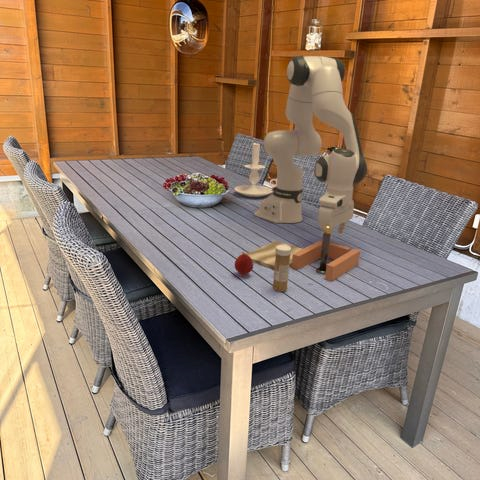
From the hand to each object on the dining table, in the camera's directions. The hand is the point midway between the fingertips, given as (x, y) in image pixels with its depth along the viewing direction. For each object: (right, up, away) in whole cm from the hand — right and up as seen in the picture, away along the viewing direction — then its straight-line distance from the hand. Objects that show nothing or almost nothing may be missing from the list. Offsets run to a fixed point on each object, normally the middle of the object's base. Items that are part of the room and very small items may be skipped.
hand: (334, 235), depth 161 cm
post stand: (-6, -12, -9) cm, 16 cm away
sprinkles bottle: (-21, -16, -23) cm, 36 cm away
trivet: (-20, -7, +1) cm, 21 cm away
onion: (-32, -13, -15) cm, 38 cm away
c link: (-4, -10, -5) cm, 12 cm away
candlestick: (-24, +22, +84) cm, 90 cm away
